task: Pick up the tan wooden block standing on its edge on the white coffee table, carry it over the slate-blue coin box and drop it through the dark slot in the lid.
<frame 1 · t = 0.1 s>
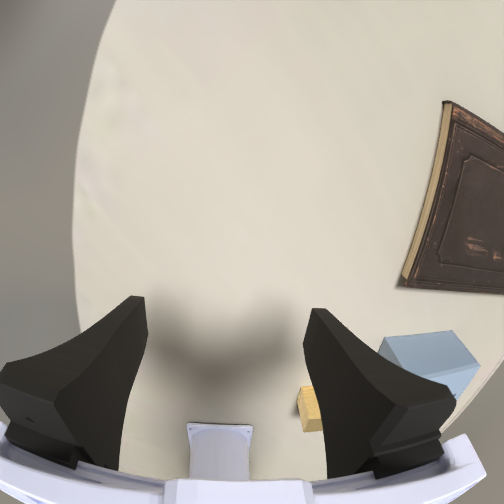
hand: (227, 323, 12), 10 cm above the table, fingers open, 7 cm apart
hardcover book: (494, 214, 23), on the table
tan wooden block: (320, 392, 30), on the table
coin box: (402, 372, 30), on the table
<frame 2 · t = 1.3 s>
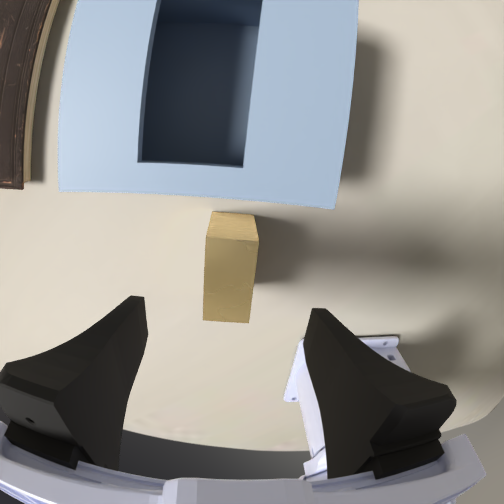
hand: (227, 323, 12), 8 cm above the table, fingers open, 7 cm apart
tan wooden block: (229, 249, 20), on the table
coin box: (211, 90, 15), on the table
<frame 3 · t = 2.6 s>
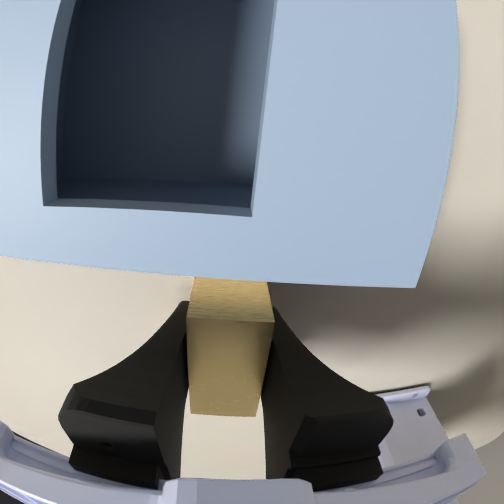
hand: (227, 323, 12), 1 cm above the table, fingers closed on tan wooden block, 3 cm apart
tan wooden block: (227, 304, 14), on the table, touching gripper
coin box: (197, 69, 9), on the table
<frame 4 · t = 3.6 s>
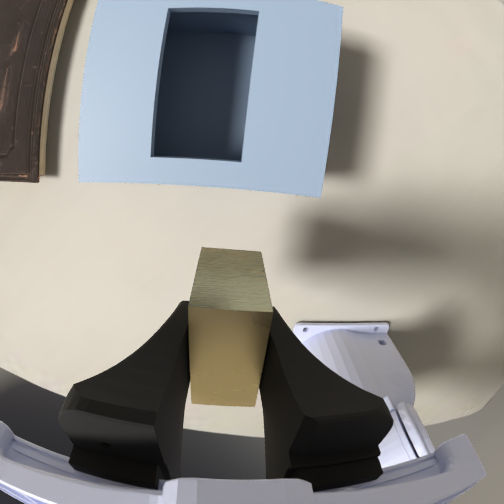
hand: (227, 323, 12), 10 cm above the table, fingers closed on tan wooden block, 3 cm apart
hardcover book: (5, 53, 14), on the table
tan wooden block: (227, 297, 14), point 8 cm above the table, touching gripper
coin box: (213, 94, 17), on the table
when the fingers open (9 cm above the table, at t = 4.8 s): tan wooden block drops 6 cm, resting on coin box.
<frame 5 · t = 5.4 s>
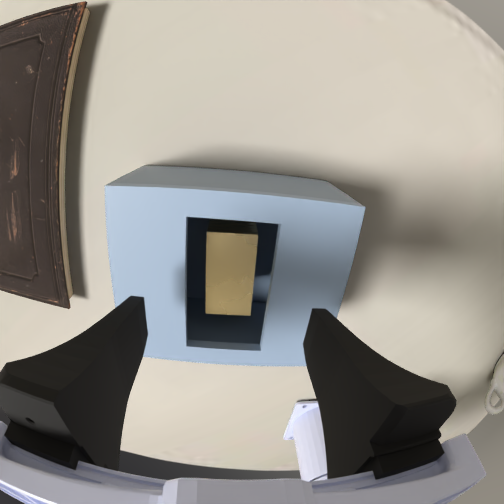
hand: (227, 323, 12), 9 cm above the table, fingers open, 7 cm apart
hardcover book: (3, 157, 17), on the table
tan wooden block: (230, 244, 20), resting on coin box
coin box: (229, 242, 20), on the table
teacup: (501, 359, 31), on the table
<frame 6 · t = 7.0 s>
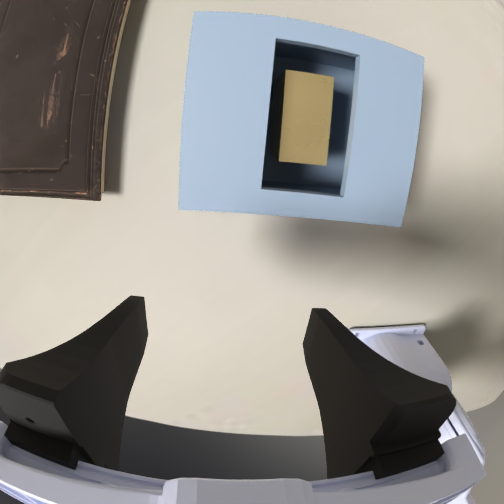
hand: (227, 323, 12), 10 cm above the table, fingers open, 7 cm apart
hardcover book: (44, 56, 15), on the table
tan wooden block: (291, 118, 18), resting on coin box
coin box: (288, 119, 18), on the table
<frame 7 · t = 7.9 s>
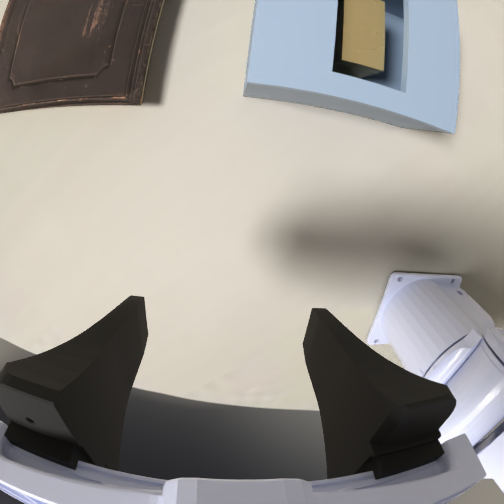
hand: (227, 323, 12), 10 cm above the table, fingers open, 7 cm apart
tan wooden block: (339, 44, 16), resting on coin box
coin box: (336, 46, 16), on the table
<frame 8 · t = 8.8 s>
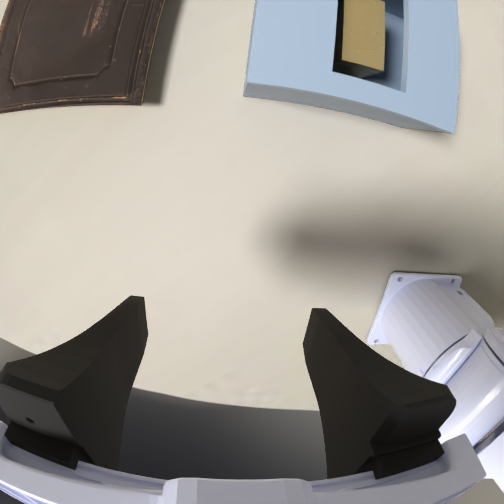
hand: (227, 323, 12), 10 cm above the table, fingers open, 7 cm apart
tan wooden block: (339, 44, 16), resting on coin box
coin box: (336, 46, 16), on the table
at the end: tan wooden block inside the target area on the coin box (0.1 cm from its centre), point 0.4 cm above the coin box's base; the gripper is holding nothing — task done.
